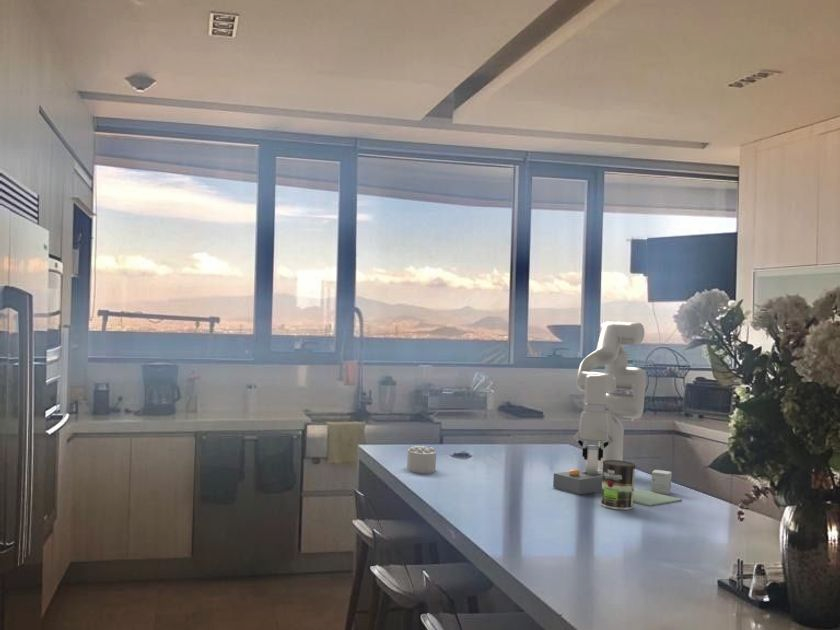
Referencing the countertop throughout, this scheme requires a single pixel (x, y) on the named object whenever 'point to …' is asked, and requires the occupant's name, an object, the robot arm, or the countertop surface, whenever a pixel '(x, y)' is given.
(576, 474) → the orange egg
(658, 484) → the product box
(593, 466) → the cartridge
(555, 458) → the countertop surface
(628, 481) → the coffee can
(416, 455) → the lumpy-topped squat cylinder
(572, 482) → the block
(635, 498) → the mat
